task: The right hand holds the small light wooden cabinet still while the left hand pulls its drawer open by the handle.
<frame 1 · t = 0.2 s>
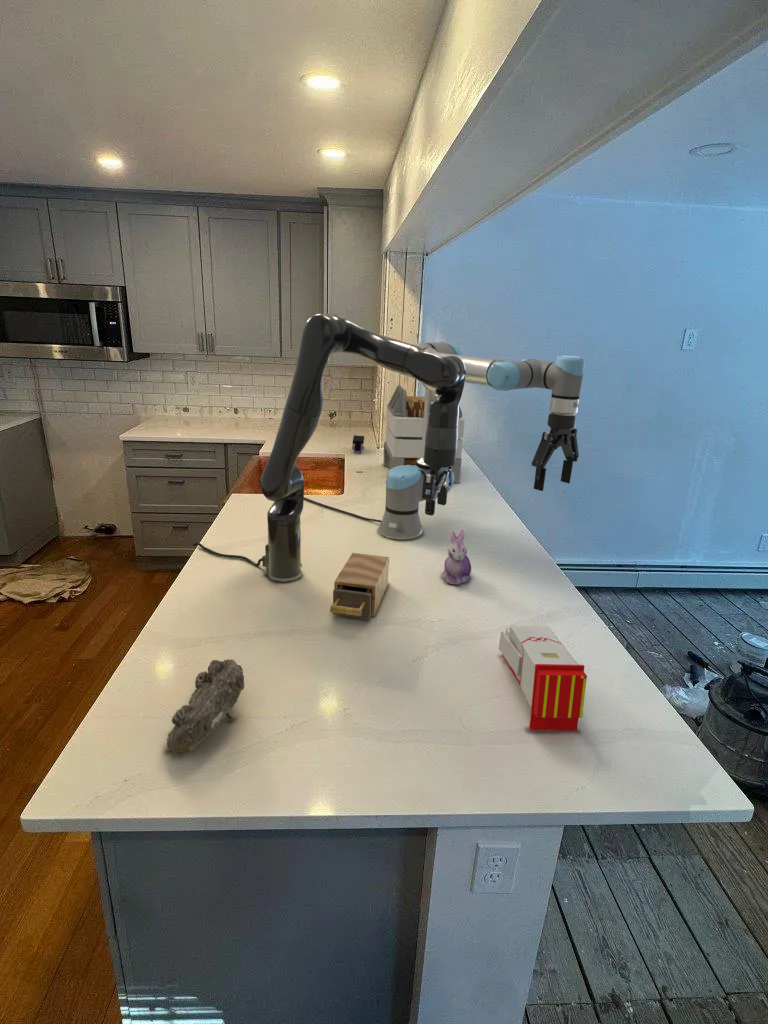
left hand: (435, 509, 138), 29 cm above the counter, tool pointing down, fingers open, 8 cm apart
right hand: (551, 485, 166), 28 cm above the counter, tool pointing down, fingers open, 13 cm apart
fossil: (212, 717, 108), on the counter
grey slatted crate: (419, 473, 275), on the counter
drawer: (356, 594, 148), point 4 cm above the counter, slide at 2.0 cm
cabinet: (362, 596, 155), on the counter
figurine character: (358, 451, 311), on the counter
toy: (533, 686, 121), on the counter
figurine: (456, 578, 168), on the counter
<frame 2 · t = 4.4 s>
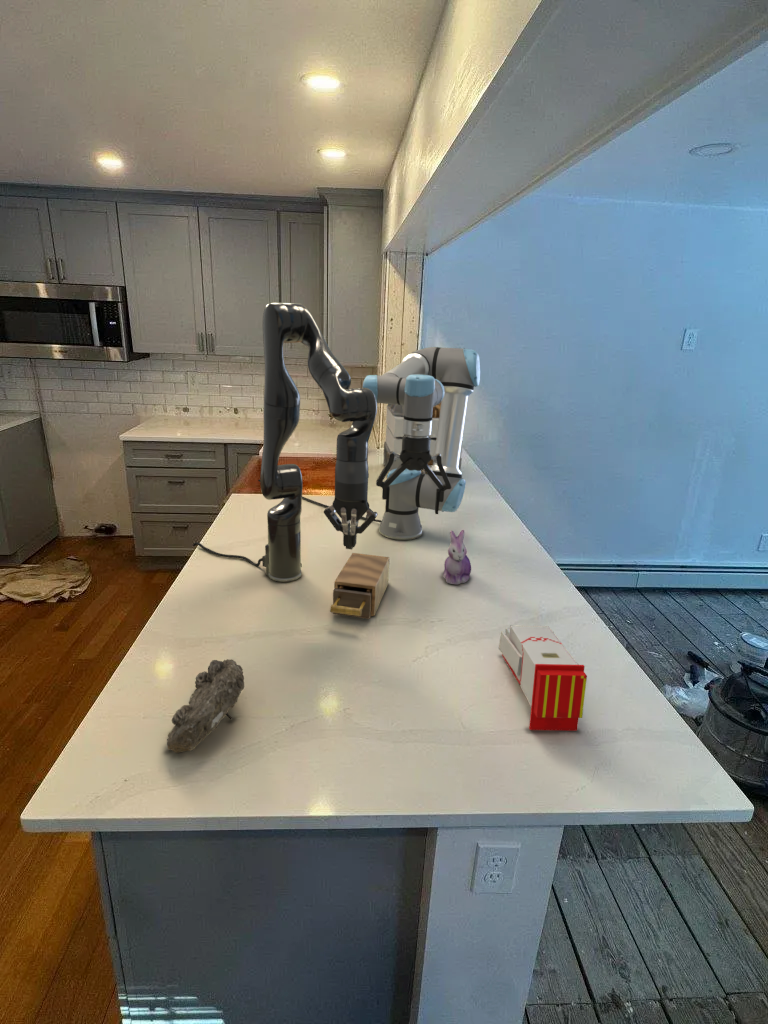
left hand: (349, 547, 134), 21 cm above the counter, tool pointing down, fingers closed
right hand: (411, 511, 156), 22 cm above the counter, tool pointing down, fingers open, 13 cm apart
nothing on the counter moved.
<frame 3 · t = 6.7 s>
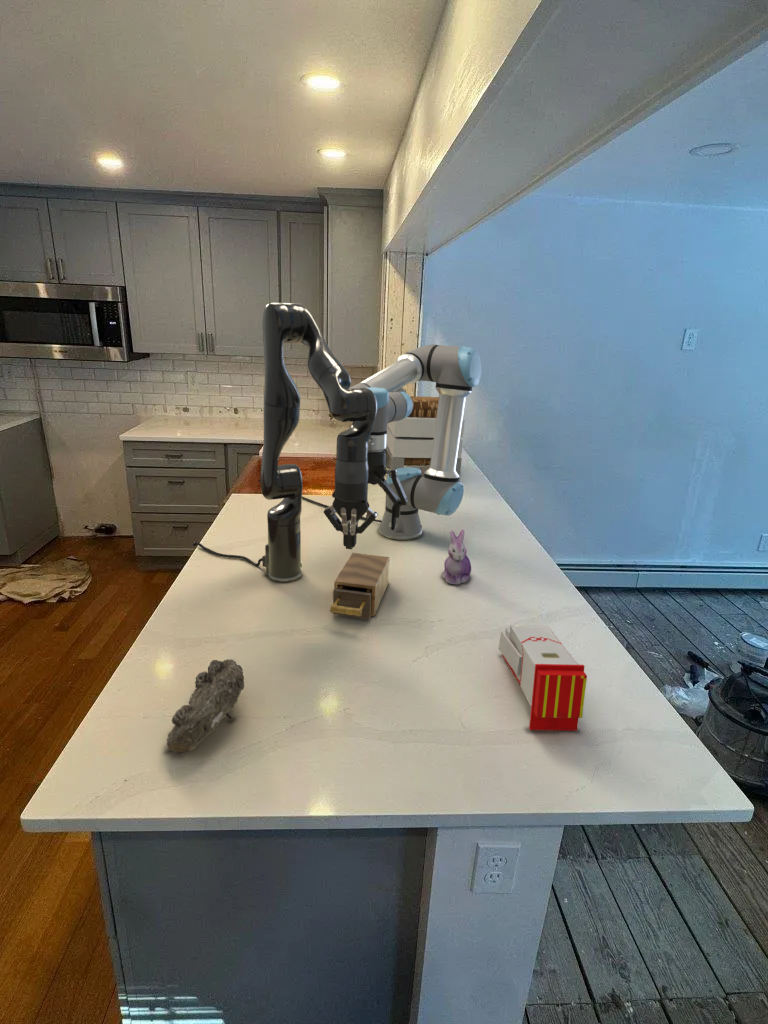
left hand: (349, 547, 134), 21 cm above the counter, tool pointing down, fingers closed
right hand: (368, 525, 154), 19 cm above the counter, tool pointing down, fingers open, 13 cm apart
nothing on the counter moved.
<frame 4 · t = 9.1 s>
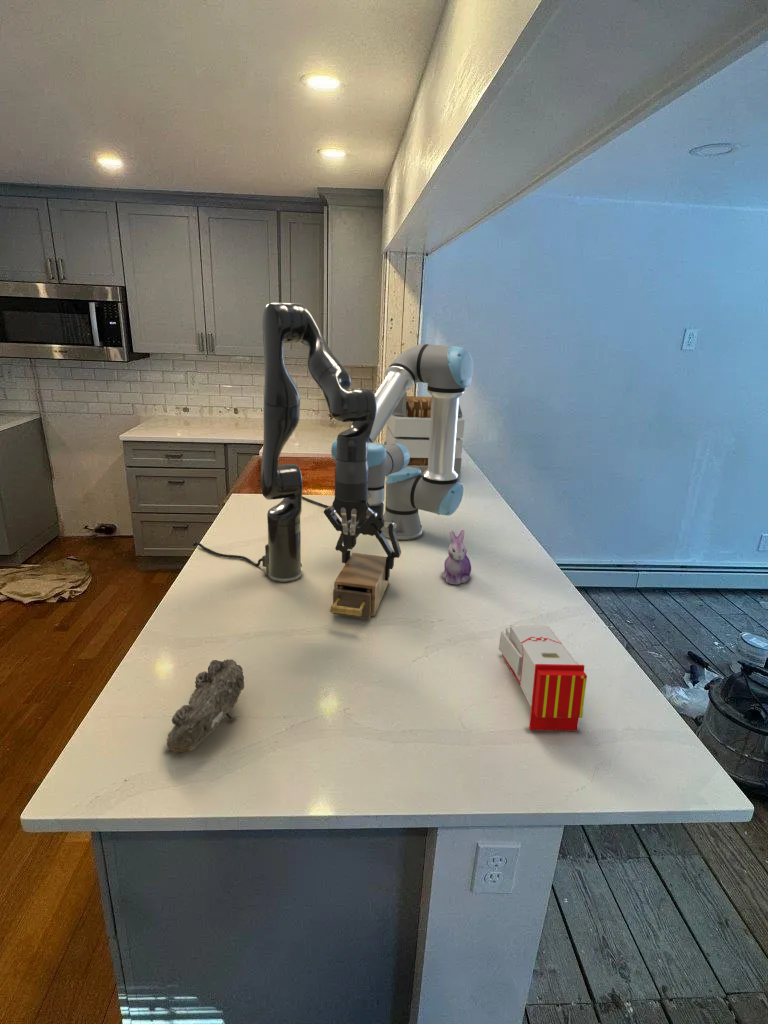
left hand: (349, 547, 134), 21 cm above the counter, tool pointing down, fingers closed
right hand: (367, 576, 159), 4 cm above the counter, tool pointing down, fingers closed on cabinet, 11 cm apart
cabinet: (362, 596, 155), on the counter, touching right hand
everything else where it was.
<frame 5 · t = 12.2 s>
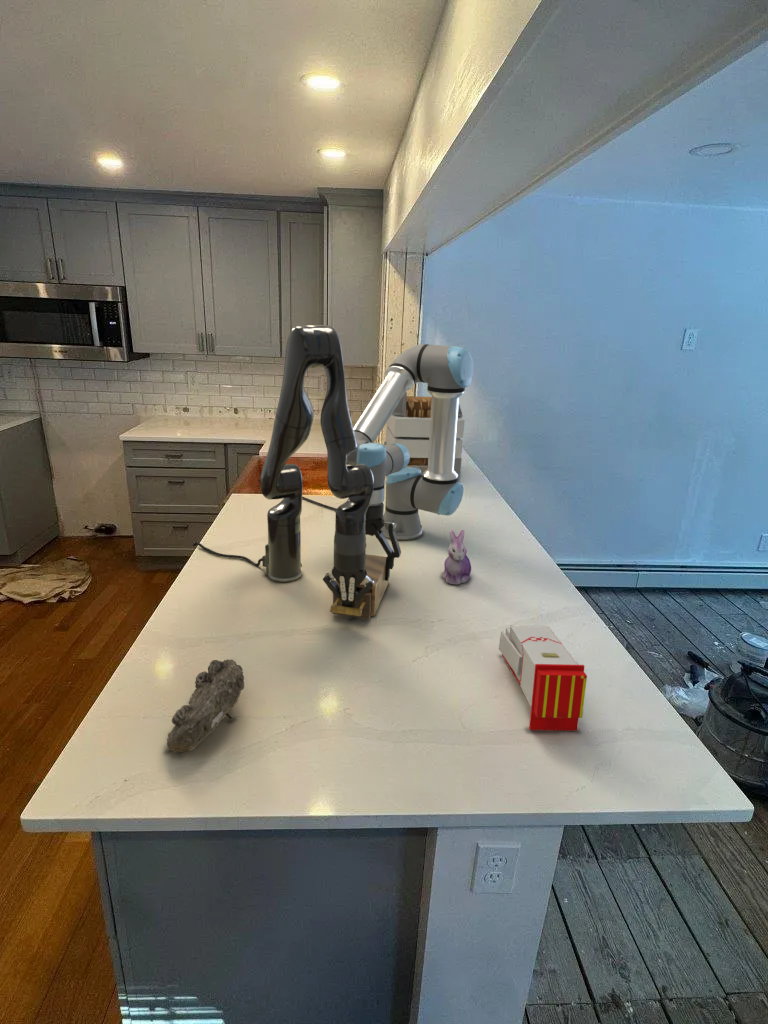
left hand: (348, 612, 140), 4 cm above the counter, tool pointing down, fingers closed
right hand: (367, 576, 159), 4 cm above the counter, tool pointing down, fingers closed on cabinet, 11 cm apart
drawer: (356, 594, 148), point 4 cm above the counter, slide at 2.0 cm, touching left hand
cabinet: (362, 596, 155), on the counter, touching right hand
everything else where it was.
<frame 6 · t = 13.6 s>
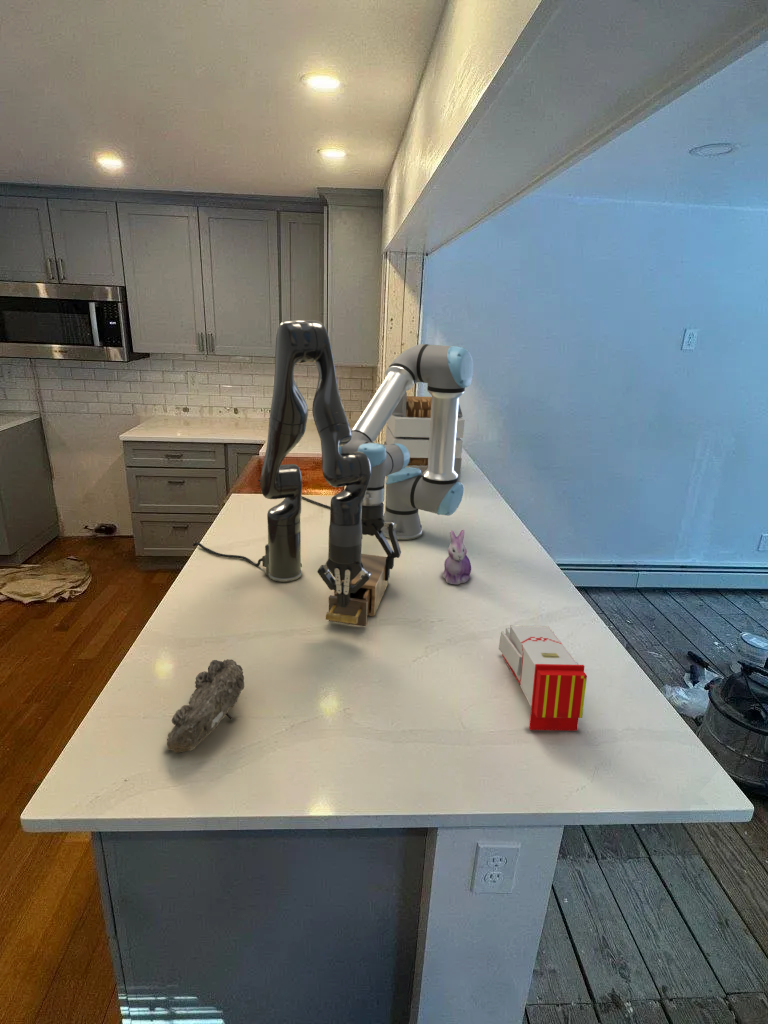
left hand: (343, 605, 135), 8 cm above the counter, tool pointing down, fingers closed
right hand: (367, 576, 159), 4 cm above the counter, tool pointing down, fingers closed on cabinet, 11 cm apart
drawer: (353, 601, 144), point 4 cm above the counter, slide at 5.7 cm
cabinet: (362, 596, 155), on the counter, touching right hand
everything else where it was.
when the right hand's fingers open (4 cm above the counter, at t = 14.9 s): cabinet stays where it is, on the counter.
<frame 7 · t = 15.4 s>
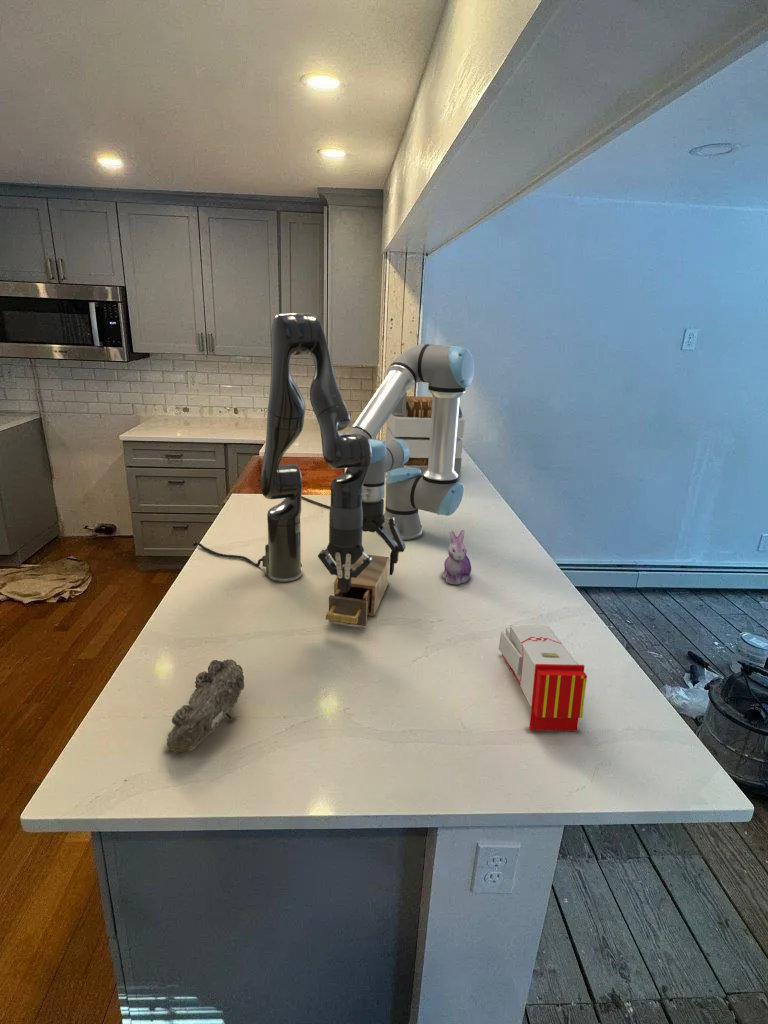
left hand: (344, 591, 133), 12 cm above the counter, tool pointing down, fingers closed
right hand: (367, 570, 159), 5 cm above the counter, tool pointing down, fingers open, 13 cm apart
cabinet: (362, 596, 155), on the counter
everything else where it was.
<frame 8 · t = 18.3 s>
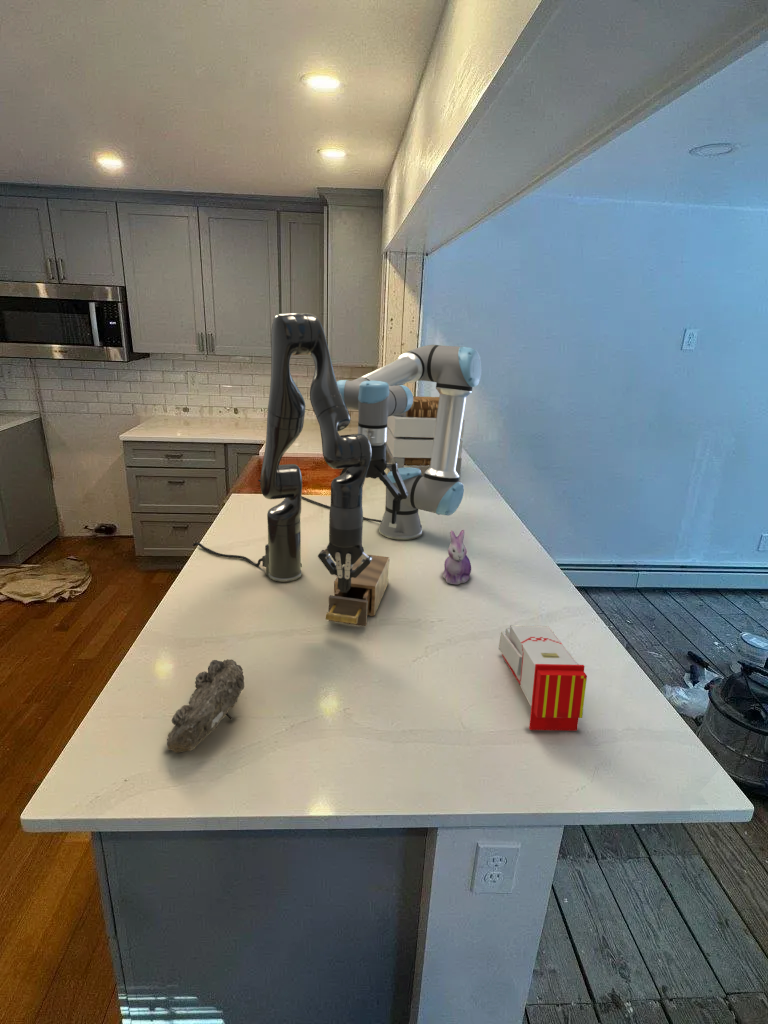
left hand: (344, 591, 133), 12 cm above the counter, tool pointing down, fingers closed
right hand: (369, 519, 153), 21 cm above the counter, tool pointing down, fingers open, 13 cm apart
nothing on the counter moved.
at the end: drawer slide at 5.7 cm; cabinet tilted 0°; cabinet never tilted more than 1° during the clip; cabinet moved 0.0 cm from its start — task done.
